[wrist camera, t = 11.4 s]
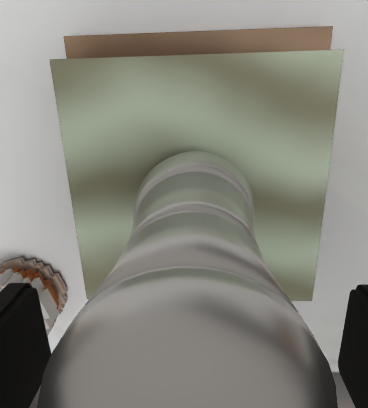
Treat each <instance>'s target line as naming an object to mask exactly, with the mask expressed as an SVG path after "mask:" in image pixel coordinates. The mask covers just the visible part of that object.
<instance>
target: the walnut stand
mask: <svg viewBox="0 0 368 408" xmlns="http://www.w3.org/2000/svg"><path fill="white" fill-rule="evenodd" d="M332 29H333V26H326V27H299V28H273V29H246V30H220V31H193V32H166V33H140V34H113V35H86V36H64V42H65V49H66V56H67V59H51V60H50V65H51V71H52V78H53V84H54V91H55V97H56V104H57V110H58V116H59V123H60V129H61V136H62V142H63V148H64V155H65V161H66V168H67V174H68V180H69V187H70V193H71V200H72V206H73V212H74V219H75V225H76V232H77V238H78V245H79V251H80V257H81V264H82V270H83V277H84V283H85V289H86V296H87V299H90V298H91V297H92V295H93V294H94V293H95V291H96V290H97V289H98V288H99V286H100V285H101V284H102V282H103V281H104V280H105V278H106V277H107V276H108V275H109V273H110V272H111V271H112V269H113V268H114V266H115V264H116V263H117V261H118V259H119V257H120V255H121V253H122V252H123V250H124V248H125V247H126V245H127V243H128V241H129V239H130V236H131V232H132V228H133V211H134V205H135V199H136V194H137V192H138V189H139V187H140V184H141V183H142V181H143V180H144V178H145V177H146V175H147V174H148V173H149V172H150V171H151V170H152V169H153V168H154V167H155V166H156V165H158V164H160V163H161V162H163V161H164V160H166V159H168V158H169V157H172V156H174V155H177V154H179V153H184V152H189V151H203V152H208V153H212V154H215V155H217V156H219V157H222V158H224V159H225V160H227V161H228V162H230V163H231V164H233V165H234V166H236V168H237V169H238V170H239V171H240V172H241V173H242V174H243V175H244V177H245V178H246V180H247V182H248V183H249V186H250V189H251V192H252V195H253V205H254V221H253V228H254V234H255V240H256V242H257V244H258V247H259V249H260V251H261V253H262V255H263V257H264V259H265V262H266V264H267V266H268V268H269V270H270V272H271V273H272V275H273V276H274V278H275V279H276V280H277V282H278V283H279V285H280V286H281V288H282V289H283V291H284V292H285V294H286V295H287V297H288V298H289V300H290V301H312V297H313V289H314V281H315V274H316V266H317V258H318V250H319V242H320V234H321V226H322V219H323V211H324V203H325V195H326V187H327V179H328V172H329V164H330V156H331V148H332V140H333V132H334V124H335V117H336V109H337V101H338V93H339V85H340V77H341V70H342V62H343V54H344V50H330V47H331V38H332Z"/></svg>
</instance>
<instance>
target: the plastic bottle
mask: <svg viewBox="0 0 368 408" xmlns="http://www.w3.org/2000/svg"><path fill="white" fill-rule="evenodd" d="M253 221H254V205H253V195H252V192H251V189H250V186H249V183H248V182H247V180H246V178H245V177H244V175H243V174H242V173H241V172H240V171H239V170H238V169H237V168H236V166H234V165H233V164H231V163H230V162H228V161H227V160H225V159H224V158H222V157H219V156H217V155H215V154H212V153H208V152H203V151H189V152H184V153H179V154H177V155H174V156H172V157H169V158H168V159H166V160H164V161H163V162H161V163H160V164H158V165H156V166H155V167H154V168H153V169H152V170H151V171H150V172H149V173H148V174H147V175H146V177H145V178H144V180H143V181H142V183H141V184H140V187H139V189H138V192H137V194H136V199H135V205H134V211H133V228H132V232H131V236H130V239H129V241H128V243H127V245H126V247H125V248H124V250H123V252H122V253H121V255H120V257H119V259H118V261H117V263H116V264H115V266H114V268H113V269H112V271H111V272H110V273H109V275H108V276H107V277H106V278H105V280H104V281H103V282H102V284H101V285H100V286H99V288H98V289H97V290H96V291H95V293H94V294H93V295H92V297H91V298H90V299H89V301H88V302H87V303H86V305H85V306H84V307H83V308H82V309H81V310H80V312H79V313H78V315H77V316H76V317H75V319H74V320H73V321H72V323H71V324H70V325H69V327H68V328H67V330H66V332H65V333H64V335H63V337H62V338H61V340H60V342H59V343H58V345H57V346H56V348H55V349H54V351H53V352H52V354H51V356H50V358H49V361H48V363H47V366H46V368H45V371H44V373H43V377H42V383H41V389H40V395H39V400H38V406H37V408H338V407H337V397H336V386H335V383H334V379H333V376H332V372H331V369H330V366H329V363H328V361H327V359H326V358H325V356H324V354H323V352H322V351H321V349H320V347H319V345H318V343H317V342H316V340H315V338H314V336H313V334H312V333H311V331H310V329H309V328H308V326H307V325H306V323H305V321H304V320H303V318H302V317H301V315H300V314H299V313H298V312H297V310H296V308H295V307H294V305H293V304H292V302H291V301H290V300H289V298H288V297H287V295H286V294H285V292H284V291H283V289H282V288H281V286H280V285H279V283H278V282H277V280H276V279H275V278H274V276H273V275H272V273H271V272H270V270H269V268H268V266H267V264H266V262H265V259H264V257H263V255H262V253H261V251H260V249H259V247H258V244H257V242H256V240H255V234H254V228H253Z"/></svg>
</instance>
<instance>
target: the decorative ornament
mask: <svg viewBox="0 0 368 408" xmlns="http://www.w3.org/2000/svg"><path fill="white" fill-rule="evenodd" d="M1 266H2V268H1V269H0V292H1V290H2V289H3V288H4V287H5V286H6V285H7V284H9V283H30V284H31V285H32V287H33V288H36V289H37V291H38V295H39V300H40V305H41V309H42V314H43V319H44V323H45V328H46V333H47V336H48V334H49V332H50V331H51V329H52V327H53V326H54V323H55V321H56V319H57V316H58V314H61V312H62V308H63V307H64V306H65V304H64V303H66V301H67V298H66V296H65V294H64V293H66V292H67V288H66V286H65V284H64V282H63V280H62V278H61V276H60V275H59V273H55V274H53V272H52V270H51V268H50V266H49V265H48V266H44V265H43V263H42V262H40V263H37V262H36V260H35V259H32V260H29V261H25V260H24V259H23V257H21V258H17V259H14V260H10V261H7V262H4V263H3V264H2V265H1Z"/></svg>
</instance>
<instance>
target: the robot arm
mask: <svg viewBox="0 0 368 408" xmlns="http://www.w3.org/2000/svg"><path fill="white" fill-rule="evenodd" d="M50 356H51V351H50V347H49V342H48V337H47V333H46V328H45V323H44V319H43V314H42V309H41V305H40V300H39V295H38V291H37V289H36V288H33V287H32V285H31V284H30V283H9V284H7V285H6V286H5V287H4V288H3V289H2V290H1V292H0V408H29V406H30V405H31V403H32V401H33V399H34V397H35V395H36V393H37V391H38V389H39V387H40V385H41V383H42V377H43V373H44V371H45V368H46V366H47V363H48V361H49V358H50ZM338 367H339V372H340V375H341V377H342V379H343V381H344V383H345V385H346V388H347V390H348V392H349V394H350V396H351V399H352V401H353V403H354V405H355V407H356V408H368V285H358V286H357V287H356V290H351V292H350V295H349V301H348V307H347V313H346V319H345V324H344V330H343V336H342V342H341V348H340V353H339V359H338Z"/></svg>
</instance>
